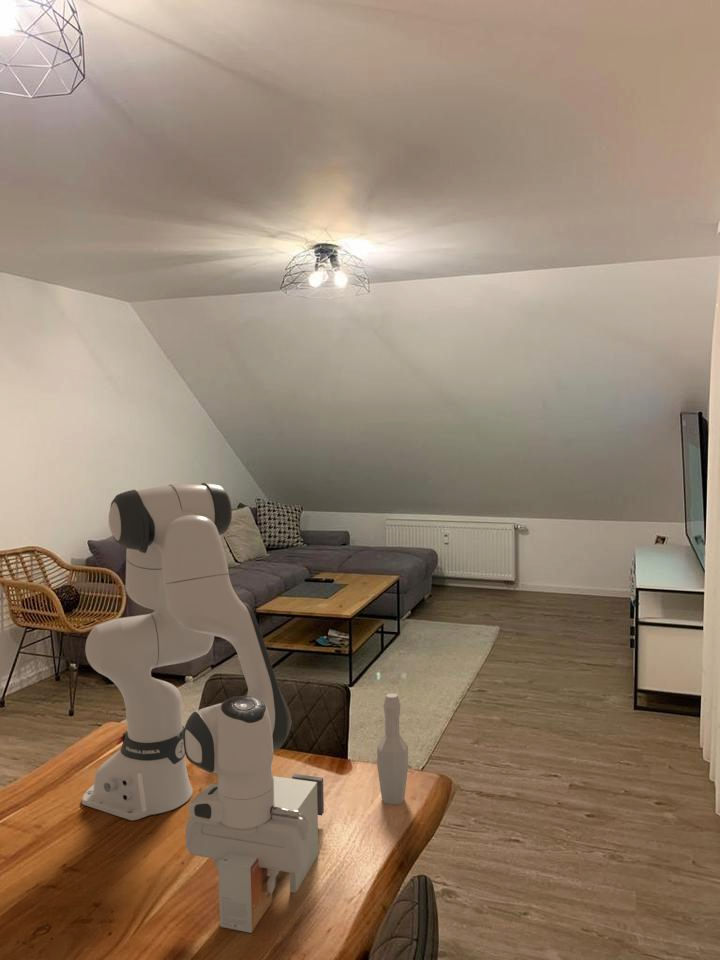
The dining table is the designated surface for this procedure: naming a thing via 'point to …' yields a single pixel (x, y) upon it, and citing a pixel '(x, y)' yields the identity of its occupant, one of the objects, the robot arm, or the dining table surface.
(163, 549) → the robot arm
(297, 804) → the tunnel
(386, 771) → the low poly bottle
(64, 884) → the dining table surface
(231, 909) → the small box
